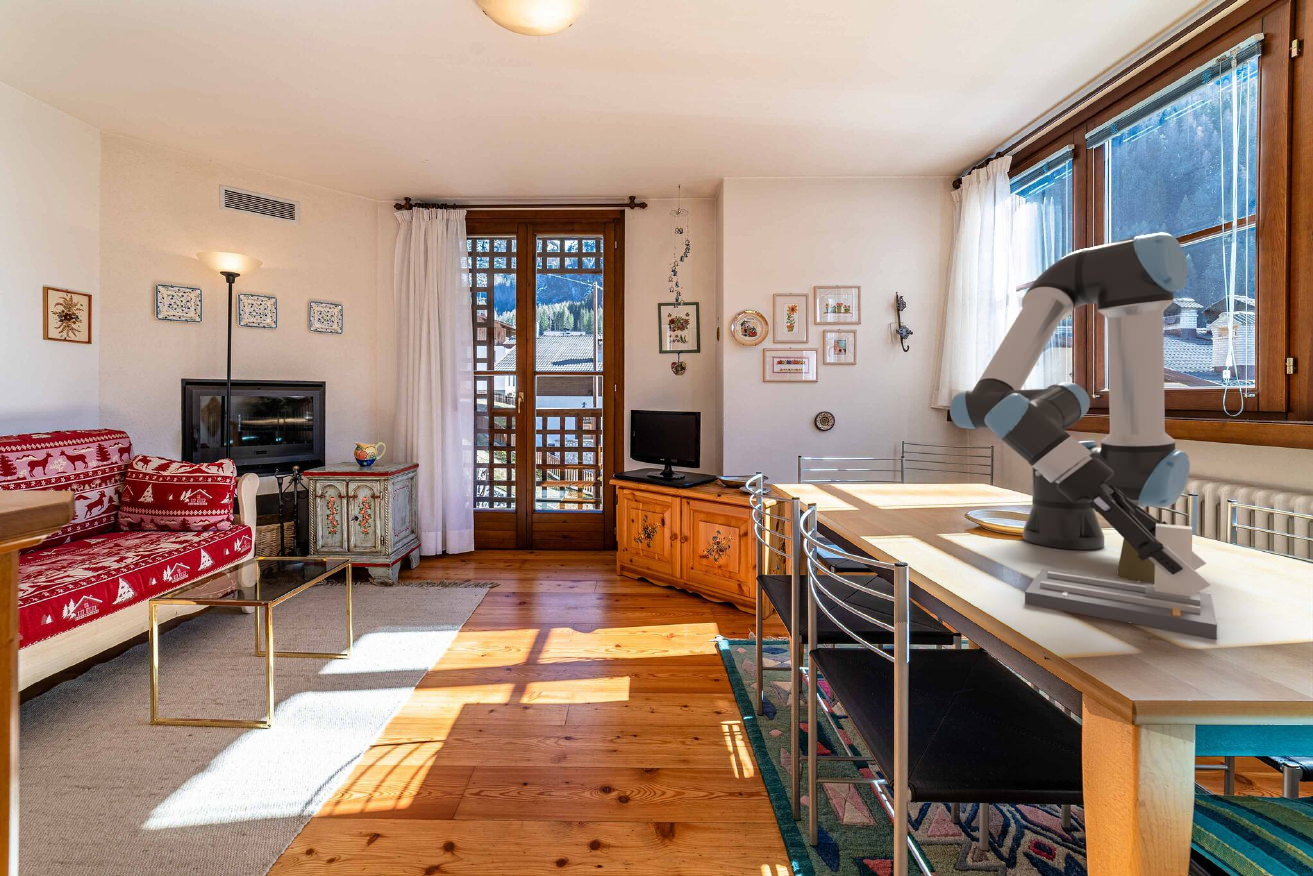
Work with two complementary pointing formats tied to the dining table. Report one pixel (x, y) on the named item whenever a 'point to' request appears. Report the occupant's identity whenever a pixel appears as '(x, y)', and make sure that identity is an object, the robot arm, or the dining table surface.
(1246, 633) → the dining table surface
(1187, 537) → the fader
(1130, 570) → the cork
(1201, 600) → the board
